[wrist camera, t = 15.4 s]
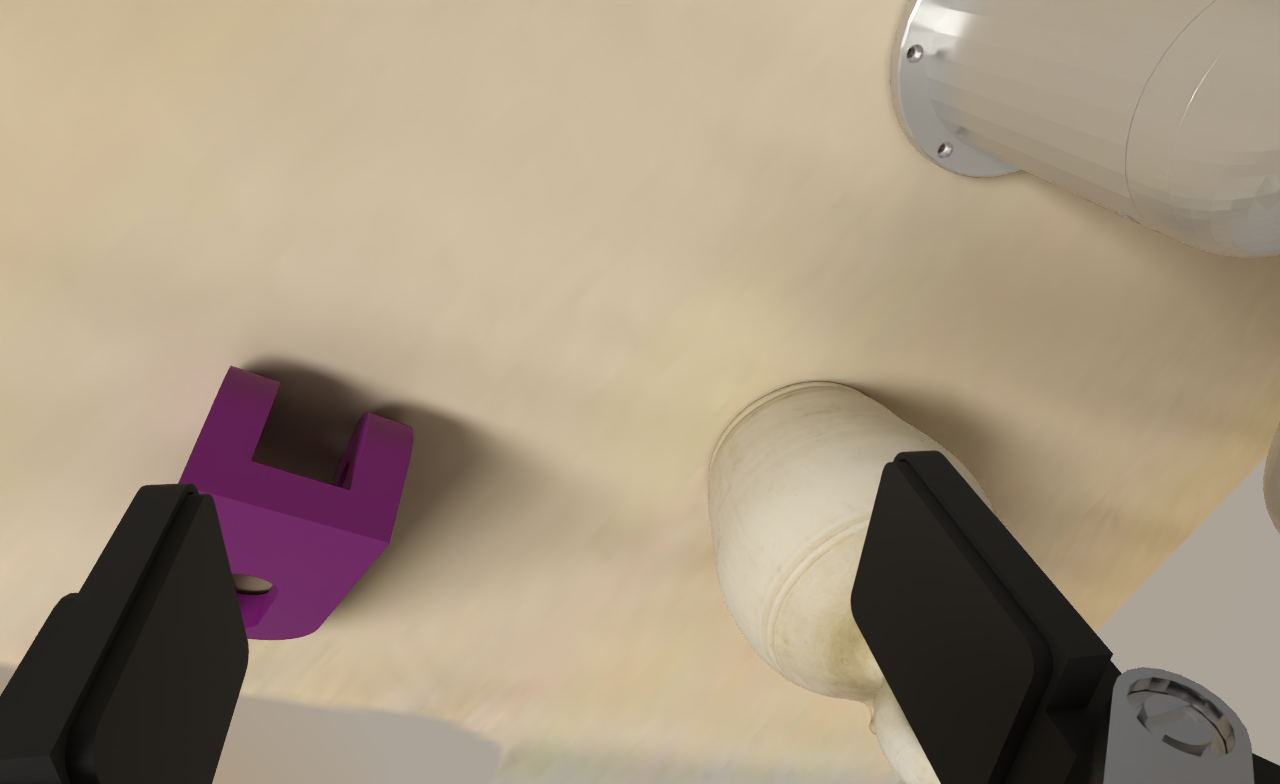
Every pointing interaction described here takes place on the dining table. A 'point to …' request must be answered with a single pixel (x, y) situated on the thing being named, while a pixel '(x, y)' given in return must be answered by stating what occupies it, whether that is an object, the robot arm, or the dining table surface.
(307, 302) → the dining table surface
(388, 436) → the mounting bracket
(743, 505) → the jug
